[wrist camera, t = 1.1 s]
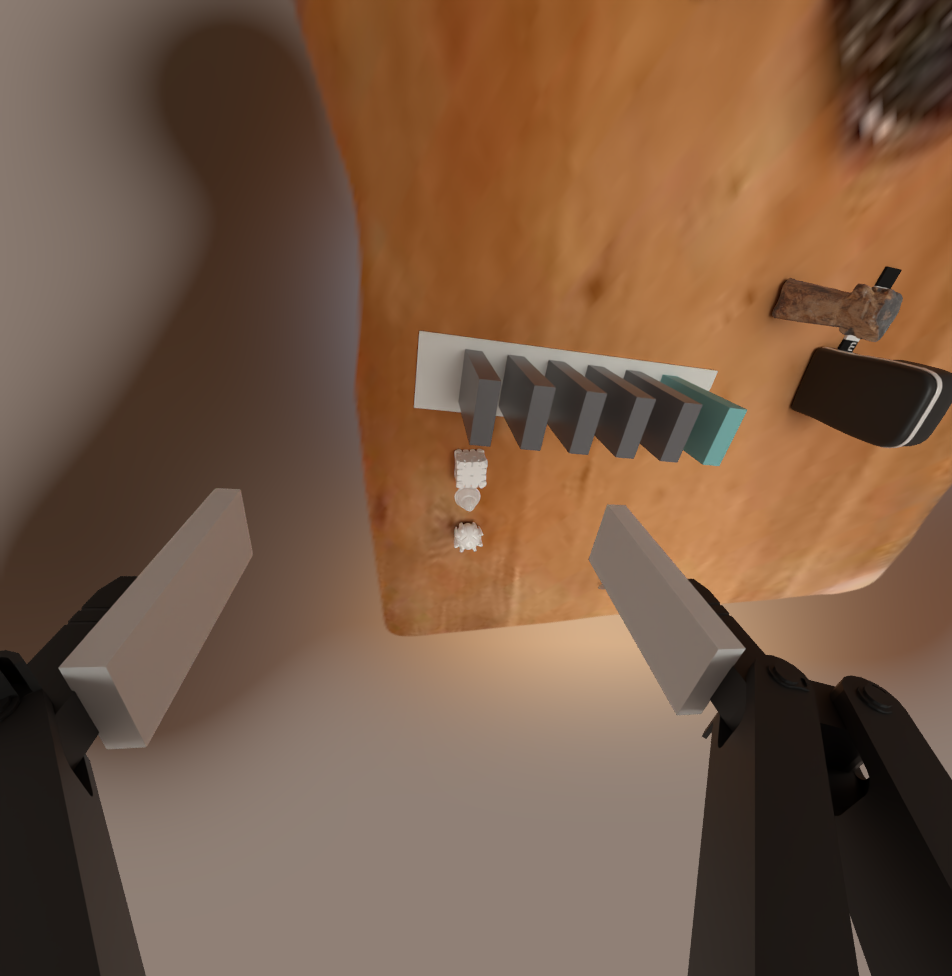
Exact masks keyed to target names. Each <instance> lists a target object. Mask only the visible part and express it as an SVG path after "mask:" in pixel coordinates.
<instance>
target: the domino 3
mask: <svg viewBox="0 0 952 976" xmlns="http://www.w3.org/2000/svg"><path fill="white" fill-rule="evenodd" d="M545 377H546V378H547V379H548V380H549V381H550V382H551V383H552V384H553V385H554V386H555V387H556V389H555V393H554V397H553V401H552V405H551V410H550V414H549V418H548V422H547V424H548V426H549V427H550V428H551V430H552V431H553V432H554V434H555V435H556V436H557V438H558V439H559V440H560V442H561V443H562V444H563V446H564V447H565V448H566V450H567V451H568V452H569V453H572V454H584V455H588V453H589V450H590V447H591V444H592V441H593V437H594V434H595V431H596V428H597V425H598V422H599V418H600V415H601V412H602V409H603V406H604V403H605V399H606V396H607V393H606V392H604V391H603V390H602V389H600V388H599V387H598V386H596V385H595V384H594V383H592V382H591V381H590V380H588V379H587V378H586V377H584V376H583V375H582V374H580V373H579V372H578V371H576V370H575V369H574V368H572V367H571V366H570V365H568V364H567V363H566V362H563V361H555V360H549V361H548V365H547V370H546V374H545Z"/></svg>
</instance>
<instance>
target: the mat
mask: <svg viewBox="0 0 952 976" xmlns="http://www.w3.org/2000/svg"><path fill="white" fill-rule="evenodd" d="M465 349H469V350H477V351H483V353H484V354H485V356H486V358H487V359H488V361H489V362H490V364H491V365H492V367H493V368H494V370H495V372H496V373H497V375H498V376H499V378H500V379H501V381H502V383H501V389H502V384H503V378H504V373H505V367H506V362H507V356H508V355H516V356H524V357H525V358H526V359H527V360H528V361H529V362H530V363H531V364H532V365H533V366H534V367H535V368H536V369H537V370H538V371H539V372H541V373H542V374H543V375H544V376H545V374H546V370H547V365H548V361H549V360H555V361H563V362H566V363H567V364H568V365H570V366H571V367H572V368H574V369H575V370H576V371H578V372H579V373H580V374H582V375H583V376H584V377H585V374H586V371H587V367H588V365H594V366H602V367H605V368H606V369H608V370H610V371H611V372H613V373H614V374H616V375H618V376H619V377H621V378H624V375H625V372H626V370H633V371H640V372H643V373H645V374H646V375H648V376H650V377H652V378H654V379H656V380H658V381H661V378H662V375H663V374H664V375H672V376H678V377H680V378H682V379H684V380H686V381H688V382H690V383H692V384H694V385H697V386H699V387H701V388H703V389H705V390H707V391H709V390H710V388H711V386H712V384H713V381H714V379H715V377H716V374H717V372H718V371H716V370H710V369H702V368H695V367H687V366H680V365H672V364H665V363H658V362H650V361H643V360H635V359H628V358H620V357H613V356H605V355H598V354H591V353H583V352H576V351H568V350H561V349H553V348H546V347H538V346H531V345H523V344H516V343H509V342H501V341H494V340H486V339H479V338H471V337H464V336H456V335H449V334H442V333H434V332H427V331H419V343H418V357H417V371H416V385H415V399H414V408H422V409H432V410H442V411H452V412H461V410H460V406H459V403H458V401H459V393H460V385H461V378H462V370H463V362H464V354H465ZM501 389H500V395H501ZM500 395H499V400H500ZM499 400H498V406H497V411H496V416H503V414H502V412H501V410H500V408H499ZM503 417H504V416H503Z"/></svg>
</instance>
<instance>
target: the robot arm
mask: <svg viewBox="0 0 952 976" xmlns="http://www.w3.org/2000/svg"><path fill="white" fill-rule="evenodd" d="M252 555H253V552H252V547H251V542H250V537H249V531H248V526H247V521H246V515H245V510H244V505H243V500H242V494H241V489H218V488H216V489H214V490H213V492H212V493H211V494H210V495H209V496H208V497H207V498H206V500H205V501H204V502H203V503H202V504H201V505H200V506H199V508H198V509H197V510H196V511H195V512H194V513H193V514H192V516H191V517H190V518H189V519H188V520H187V521H186V522H185V524H184V525H183V526H182V527H181V528H180V529H179V530H178V532H177V533H176V534H175V535H174V536H173V537H172V539H171V540H170V541H169V542H168V543H167V544H166V545H165V546H164V548H163V549H162V550H161V551H160V552H159V553H158V555H157V556H156V557H155V558H154V559H153V560H152V561H151V562H150V564H149V565H148V566H147V567H146V568H145V569H144V570H143V572H142V573H141V574H140V575H139V576H132V577H131V576H128V577H127V576H120V577H119V578H117V579H115V580H114V581H112V582H111V583H109V584H108V585H106V586H104V587H103V588H101V589H99V590H98V591H97V592H96V593H95V594H94V595H93V596H92V597H91V598H90V599H89V600H88V601H87V602H86V603H85V604H84V605H83V607H82V610H81V611H78V612H77V613H76V614H75V615H74V616H73V617H72V618H71V619H70V620H69V621H68V624H67V625H64V626H63V627H62V628H61V629H60V631H58V633H57V634H56V635H55V636H54V637H53V638H52V639H51V640H50V641H49V642H48V643H47V644H46V645H45V646H44V647H43V648H42V649H41V650H40V651H39V652H38V653H37V654H36V655H35V656H34V658H33V659H32V660H31V661H30V662H29V663H28V664H26V663H25V661H24V660H23V659H22V657H21V656H20V654H19V653H16V652H11V651H7V650H5V651H0V976H146V975H145V971H144V967H143V963H142V960H141V956H140V952H139V949H138V944H137V940H136V936H135V933H134V929H133V925H132V921H131V917H130V913H129V909H128V906H127V902H126V898H125V894H124V890H123V886H122V883H121V879H120V875H119V872H118V867H117V863H116V860H115V856H114V852H113V848H112V844H111V841H110V836H109V832H108V829H107V825H106V821H105V817H104V813H103V809H102V806H101V802H100V798H99V794H98V790H97V786H96V782H95V779H94V775H93V771H92V767H91V763H90V760H89V759H88V757H87V756H86V754H85V753H86V752H87V750H88V749H89V747H90V746H91V744H92V743H93V741H94V740H95V738H96V737H97V735H99V737H100V738H101V740H102V742H103V743H104V745H105V747H106V748H107V749H118V748H119V749H120V748H137V747H147V745H148V743H149V742H150V740H151V738H152V736H153V734H154V732H155V731H156V729H157V727H158V725H159V723H160V722H161V720H162V718H163V716H164V714H165V712H166V711H167V709H168V707H169V705H170V703H171V702H172V700H173V698H174V696H175V695H176V693H177V691H178V689H179V687H180V685H181V684H182V682H183V680H184V678H185V676H186V675H187V673H188V671H189V669H190V667H191V666H192V664H193V662H194V660H195V658H196V656H197V655H198V653H199V651H200V649H201V648H202V646H203V644H204V642H205V640H206V638H207V637H208V635H209V633H210V631H211V629H212V628H213V626H214V624H215V622H216V620H217V618H218V617H219V615H220V613H221V611H222V609H223V608H224V606H225V604H226V602H227V601H228V599H229V597H230V595H231V593H232V591H233V590H234V588H235V586H236V584H237V582H238V581H239V579H240V577H241V575H242V573H243V572H244V570H245V568H246V566H247V564H248V563H249V561H250V559H251V557H252ZM589 561H590V563H591V565H592V567H593V568H594V570H595V572H596V574H597V575H598V577H599V579H600V581H601V582H602V584H603V586H604V588H605V589H606V591H607V593H608V595H609V597H610V598H611V600H612V602H613V604H614V605H615V607H616V609H617V611H618V612H619V614H620V616H621V618H622V619H623V621H624V623H625V625H626V627H627V628H628V630H629V631H630V633H631V635H632V637H633V639H634V640H635V642H636V644H637V646H638V648H639V649H640V651H641V653H642V655H643V656H644V658H645V660H646V662H647V664H648V665H649V667H650V669H651V671H652V672H653V674H654V676H655V678H656V679H657V681H658V683H659V685H660V686H661V688H662V690H663V692H664V694H665V695H666V697H667V699H668V701H669V702H670V704H671V705H672V708H673V709H674V711H675V713H676V715H690V714H701V713H702V712H703V710H704V709H705V707H706V706H707V704H708V703H709V701H710V700H711V702H712V703H713V705H714V706H715V708H716V709H717V711H718V713H717V714H716V716H715V717H714V718H713V720H712V721H711V722H710V724H709V725H708V727H707V728H706V729H705V731H704V733H703V735H702V737H704V738H707V737H708V736H709V735H710V733H712V739H711V748H710V758H709V769H708V778H707V788H706V798H705V808H704V818H703V828H702V839H701V848H700V858H699V868H698V878H697V889H696V898H695V909H694V918H693V928H692V938H691V948H690V958H689V968H688V976H859V972H858V966H857V959H856V953H855V947H854V940H853V934H852V928H851V921H850V916H851V919H852V922H853V924H854V928H855V930H856V933H857V936H858V939H859V942H860V945H861V947H862V950H863V953H864V956H865V959H866V961H867V964H868V967H869V970H870V973H871V976H952V780H951V778H950V776H949V775H948V773H947V772H946V771H945V769H944V767H943V766H942V764H941V763H940V761H939V760H938V758H937V757H936V755H935V754H934V752H933V751H932V749H931V747H930V746H929V744H928V743H927V741H926V740H925V738H924V737H923V735H922V734H921V732H920V731H919V729H918V728H917V726H916V725H915V723H914V722H913V720H912V719H911V717H910V715H909V714H908V712H907V711H906V709H905V708H904V707H903V706H902V705H901V704H900V702H899V701H898V700H897V699H896V698H894V697H893V696H892V695H891V694H890V693H888V692H887V691H886V690H885V689H883V688H882V687H879V685H877V684H875V683H873V682H871V681H868V680H866V679H863V678H861V677H856V676H846V677H844V678H843V679H842V680H841V681H840V682H839V683H838V684H837V686H836V687H834V686H831V685H827V684H823V683H819V682H815V681H811V680H808V679H807V677H806V676H805V675H804V674H803V673H802V672H801V671H800V670H799V669H797V668H796V667H795V666H794V665H792V664H790V663H789V662H787V661H785V660H783V659H781V658H778V657H775V656H772V655H765V654H764V652H763V651H762V650H761V649H760V648H759V647H758V646H757V644H755V642H754V641H753V640H752V639H751V638H750V636H749V635H748V634H747V633H746V632H745V631H744V630H743V628H742V627H741V626H740V625H739V624H738V623H737V622H736V620H735V619H734V618H733V617H732V616H729V613H728V611H727V610H726V609H725V608H724V607H723V606H722V605H720V602H719V601H718V600H717V599H716V598H715V597H714V595H713V594H712V593H711V592H710V591H709V590H708V589H707V588H705V587H704V586H703V585H701V584H700V583H698V582H697V581H696V580H694V579H687V578H686V577H685V576H684V575H683V573H682V572H681V571H680V570H679V569H678V567H677V566H676V565H675V564H674V563H673V561H672V560H671V559H670V558H669V557H668V556H667V554H666V553H665V552H664V551H663V550H662V548H661V547H660V546H659V545H658V544H657V542H656V541H655V540H654V539H653V538H652V536H651V535H650V534H649V533H648V532H647V530H646V529H645V528H644V527H643V526H642V525H641V523H640V522H639V521H638V520H637V519H636V517H635V516H634V515H633V514H632V513H631V511H630V510H629V509H628V508H627V507H626V505H607V507H606V510H605V513H604V516H603V519H602V522H601V525H600V527H599V530H598V533H597V536H596V539H595V542H594V545H593V548H592V551H591V554H590V557H589ZM863 763H864V765H865V767H866V769H867V772H868V775H869V778H868V779H866V778H865V777H864V775H863V774H862V772H861V770H860V768H859V767H860V765H862V764H863ZM849 913H850V914H849Z"/></svg>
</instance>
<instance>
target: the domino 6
mask: <svg viewBox="0 0 952 976" xmlns="http://www.w3.org/2000/svg"><path fill="white" fill-rule="evenodd" d="M660 382H661V383H663V384H665V385H667V386H669V387H671V388H673V389H674V390H676V391H678V392H680V393H682V394H684V395H686V396H688V397H689V398H691V399H693V400H695V401H697V402H699V403H701V404H702V405H703V406H702V408H701V410H700V412H699V415H698V417H697V419H696V422H695V424H694V426H693V428H692V431H691V433H690V435H689V437H688V440H687V442H686V444H685V446H684V449H683V450H684V451H685V452H686V453H688V454H689V455H691V456H692V457H693V458H695V459H696V460H697V461H699V462H700V463H701V464H703V465H713V466H719V465H720V463H721V461H722V459H723V457H724V455H725V454H726V452H727V450H728V448H729V446H730V444H731V442H732V440H733V438H734V436H735V434H736V432H737V430H738V428H739V426H740V424H741V422H742V420H743V418H744V416H745V414H746V412H747V409H745V408H742V407H740V406H738V405H736V404H734V403H732V402H730V401H728V400H726V399H724V398H722V397H719V396H717V395H715V394H713V393H711V392H709V391H707V390H705V389H703V388H701V387H699V386H697V385H694V384H692V383H690V382H688V381H686V380H684V379H682V378H680V377H678V376H672V375H664V374H663V375H662V378H661V381H660Z"/></svg>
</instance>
